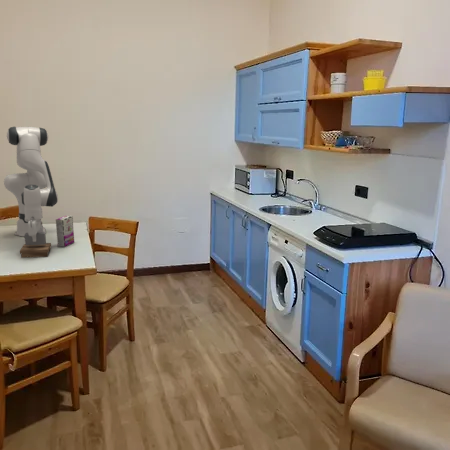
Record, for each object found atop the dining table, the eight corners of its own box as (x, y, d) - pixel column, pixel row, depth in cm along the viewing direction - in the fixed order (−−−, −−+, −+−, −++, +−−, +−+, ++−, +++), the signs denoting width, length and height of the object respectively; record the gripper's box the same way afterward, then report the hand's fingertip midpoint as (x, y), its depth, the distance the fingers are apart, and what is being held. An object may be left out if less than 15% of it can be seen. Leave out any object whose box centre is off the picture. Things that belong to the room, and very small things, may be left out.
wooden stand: (25, 250, 265) (24, 243, 264) (51, 249, 268) (50, 242, 267) (20, 257, 252) (19, 250, 251) (48, 256, 255) (47, 249, 254)
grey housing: (45, 242, 262) (45, 232, 260) (44, 244, 258) (44, 233, 257) (26, 243, 260) (25, 232, 258) (25, 245, 256) (24, 234, 254)
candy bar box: (66, 241, 285) (65, 215, 281) (74, 242, 284) (73, 215, 281) (56, 246, 274) (55, 219, 271) (64, 247, 273) (63, 219, 270)
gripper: (37, 219, 246) (38, 244, 249) (42, 211, 265) (44, 235, 269) (24, 219, 245) (26, 245, 248) (30, 211, 264) (32, 235, 267)
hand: (35, 240), depth 258 cm, fingers closed on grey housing, 4 cm apart
